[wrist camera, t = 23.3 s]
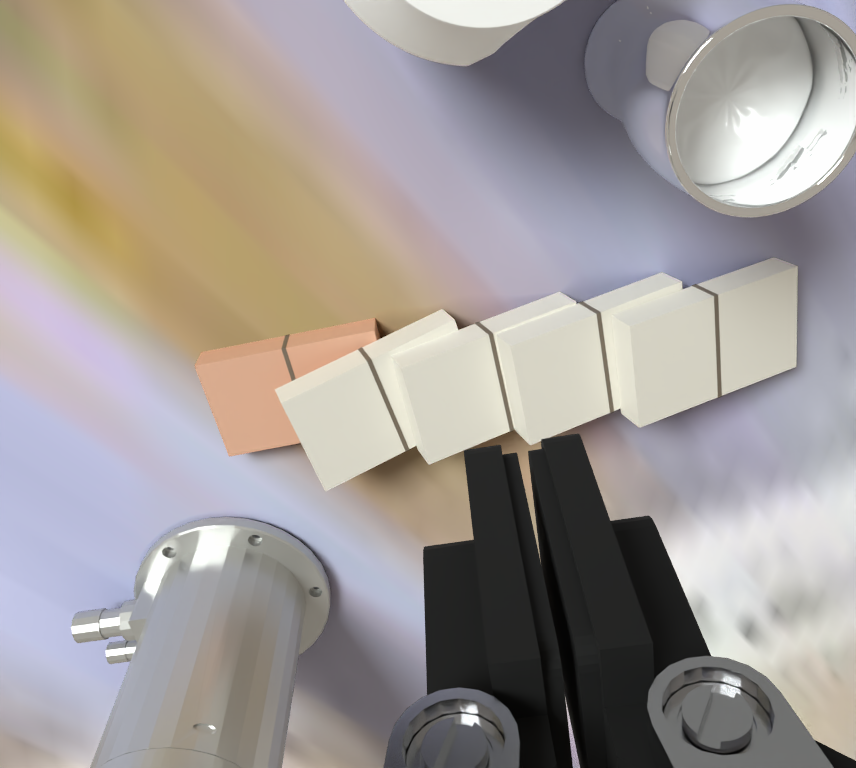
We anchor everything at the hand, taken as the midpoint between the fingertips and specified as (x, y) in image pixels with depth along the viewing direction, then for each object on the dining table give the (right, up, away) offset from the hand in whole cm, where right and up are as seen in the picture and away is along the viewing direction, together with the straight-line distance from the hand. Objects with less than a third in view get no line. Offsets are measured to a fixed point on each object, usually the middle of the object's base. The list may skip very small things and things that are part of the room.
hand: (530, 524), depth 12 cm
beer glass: (+9, +18, +27) cm, 34 cm away
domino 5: (+18, +6, +33) cm, 38 cm away
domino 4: (+12, +5, +33) cm, 36 cm away
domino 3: (+7, +4, +33) cm, 34 cm away
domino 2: (+1, +3, +34) cm, 34 cm away
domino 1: (-4, +3, +34) cm, 34 cm away
